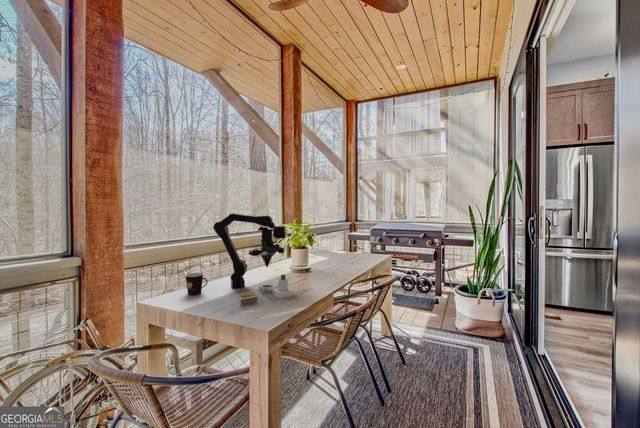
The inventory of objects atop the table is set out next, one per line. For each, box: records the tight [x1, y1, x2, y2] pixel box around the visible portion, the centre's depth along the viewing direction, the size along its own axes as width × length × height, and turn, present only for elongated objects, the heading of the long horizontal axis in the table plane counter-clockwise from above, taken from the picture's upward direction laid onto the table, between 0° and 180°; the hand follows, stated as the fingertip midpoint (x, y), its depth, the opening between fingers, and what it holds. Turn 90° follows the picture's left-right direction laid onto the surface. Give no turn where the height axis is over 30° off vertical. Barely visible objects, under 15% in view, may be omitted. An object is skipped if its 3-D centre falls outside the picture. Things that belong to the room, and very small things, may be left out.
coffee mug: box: [184, 272, 209, 297], centre depth 158 cm, size 12×9×10 cm
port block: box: [273, 287, 295, 298], centre depth 154 cm, size 8×8×3 cm
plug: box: [278, 274, 289, 292], centre depth 154 cm, size 3×3×10 cm
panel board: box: [255, 285, 299, 302], centre depth 157 cm, size 14×22×1 cm, turn 33°
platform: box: [237, 291, 261, 306], centre depth 141 cm, size 12×18×7 cm, turn 124°
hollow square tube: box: [258, 283, 276, 293], centre depth 160 cm, size 6×6×2 cm
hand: (266, 266), depth 167 cm, fingers closed
